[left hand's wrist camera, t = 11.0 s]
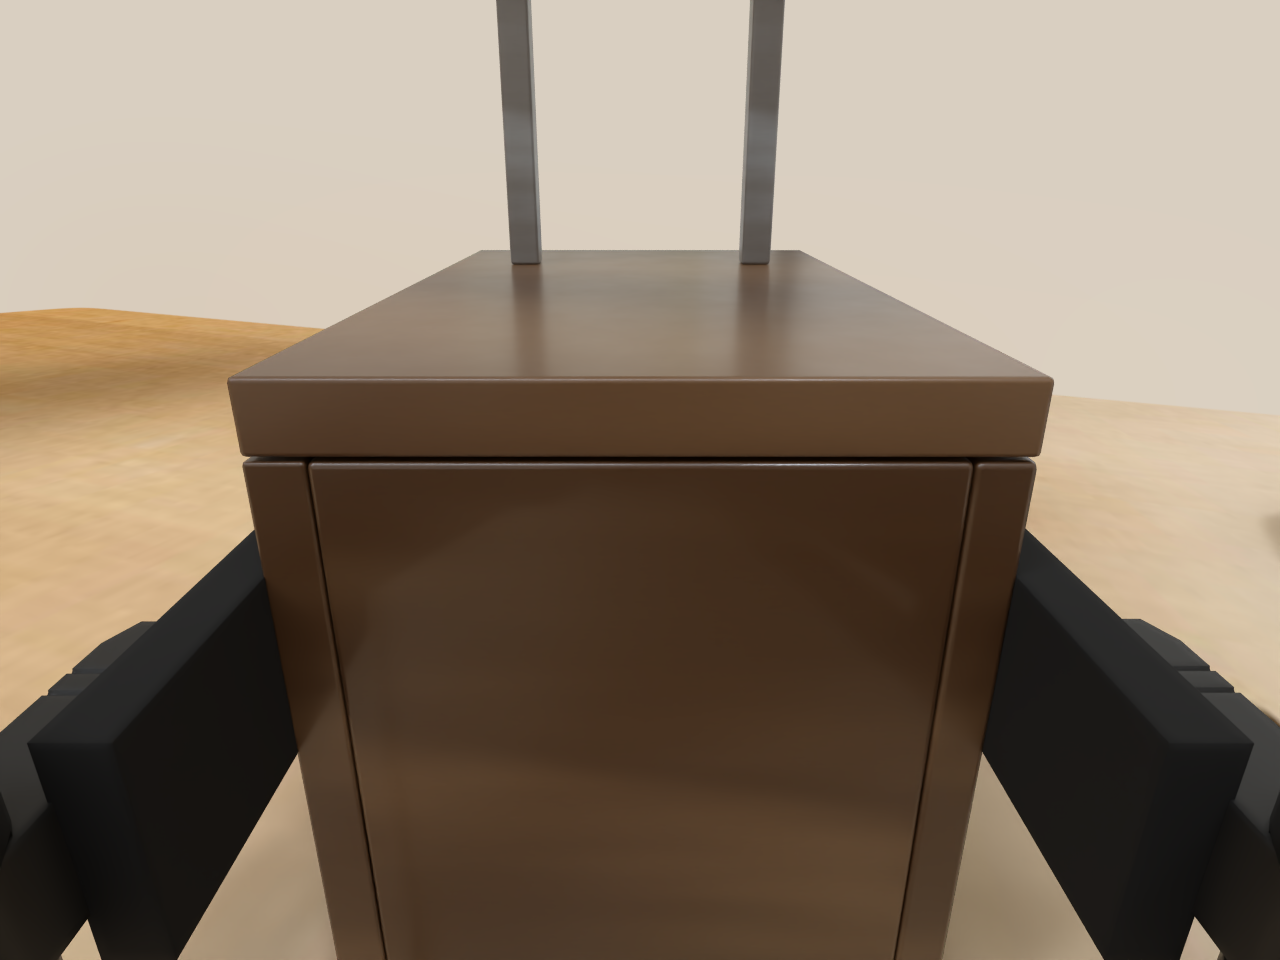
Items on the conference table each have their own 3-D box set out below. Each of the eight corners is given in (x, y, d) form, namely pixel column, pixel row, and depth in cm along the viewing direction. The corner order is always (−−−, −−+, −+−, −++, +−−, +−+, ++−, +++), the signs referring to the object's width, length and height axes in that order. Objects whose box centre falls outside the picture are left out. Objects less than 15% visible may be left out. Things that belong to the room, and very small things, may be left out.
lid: (481, 284, 24) (456, -70, 20) (799, 284, 24) (824, -70, 20) (239, 458, 9) (27, -628, 6) (1042, 459, 9) (1254, -629, 6)
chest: (498, 589, 26) (476, 289, 23) (782, 589, 26) (804, 289, 23) (349, 1029, 13) (240, 462, 9) (931, 1030, 13) (1041, 463, 9)
